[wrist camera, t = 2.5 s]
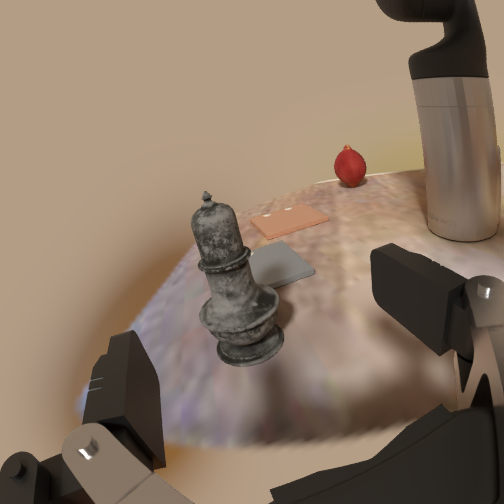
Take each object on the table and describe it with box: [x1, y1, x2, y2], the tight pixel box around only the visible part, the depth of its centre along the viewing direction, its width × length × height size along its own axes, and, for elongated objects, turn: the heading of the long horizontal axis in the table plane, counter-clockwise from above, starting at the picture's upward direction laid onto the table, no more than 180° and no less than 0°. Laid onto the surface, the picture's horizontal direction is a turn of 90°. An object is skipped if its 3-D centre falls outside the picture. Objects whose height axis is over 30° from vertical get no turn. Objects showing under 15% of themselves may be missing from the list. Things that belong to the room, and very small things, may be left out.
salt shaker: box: [191, 191, 284, 367], centre depth 22 cm, size 6×6×12 cm
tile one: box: [248, 241, 314, 289], centre depth 35 cm, size 9×9×1 cm
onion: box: [334, 145, 366, 188], centre depth 54 cm, size 6×6×8 cm
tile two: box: [250, 203, 329, 240], centre depth 47 cm, size 9×9×1 cm
